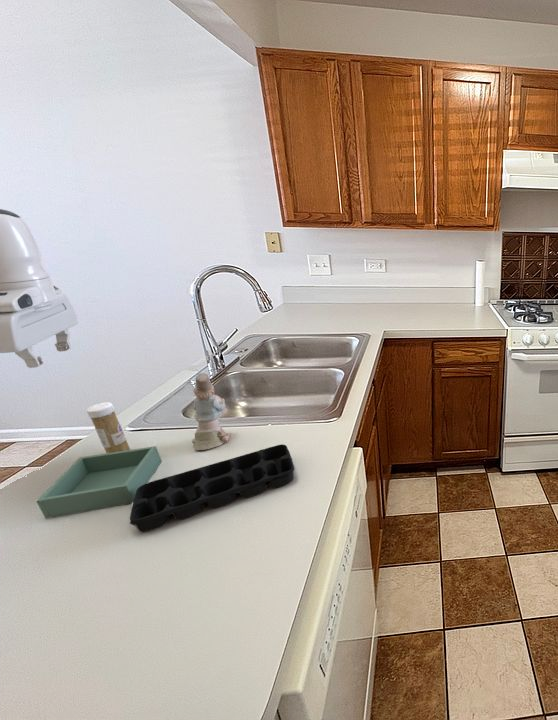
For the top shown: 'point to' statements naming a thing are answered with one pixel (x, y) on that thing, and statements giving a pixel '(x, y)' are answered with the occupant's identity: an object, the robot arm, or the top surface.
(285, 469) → the egg carton
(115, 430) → the sprinkles bottle
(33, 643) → the top surface
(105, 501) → the bin
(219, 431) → the figurine
